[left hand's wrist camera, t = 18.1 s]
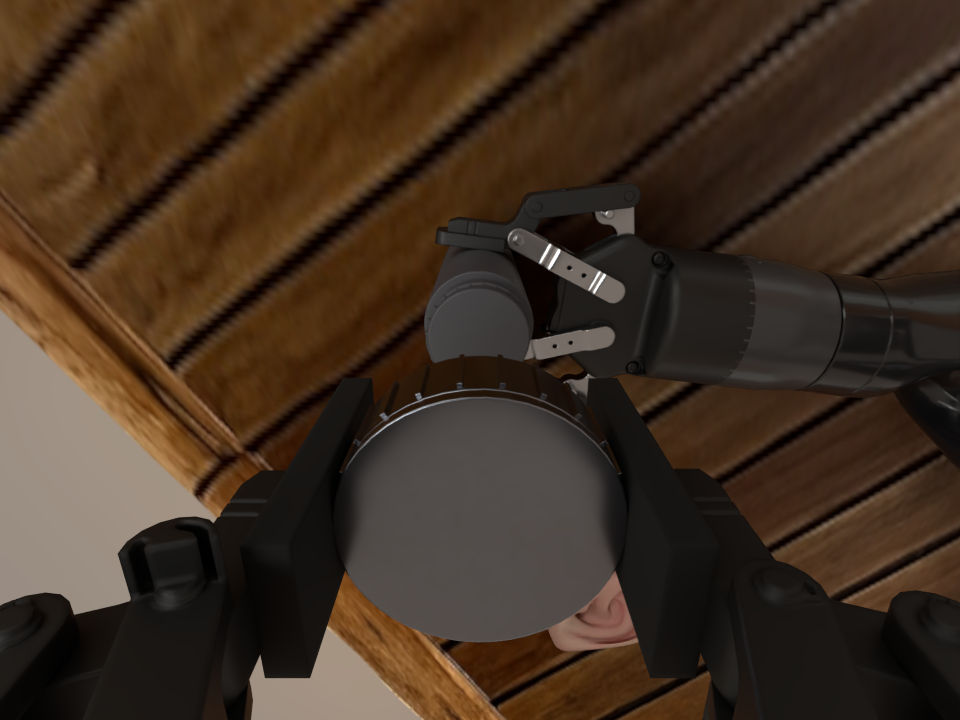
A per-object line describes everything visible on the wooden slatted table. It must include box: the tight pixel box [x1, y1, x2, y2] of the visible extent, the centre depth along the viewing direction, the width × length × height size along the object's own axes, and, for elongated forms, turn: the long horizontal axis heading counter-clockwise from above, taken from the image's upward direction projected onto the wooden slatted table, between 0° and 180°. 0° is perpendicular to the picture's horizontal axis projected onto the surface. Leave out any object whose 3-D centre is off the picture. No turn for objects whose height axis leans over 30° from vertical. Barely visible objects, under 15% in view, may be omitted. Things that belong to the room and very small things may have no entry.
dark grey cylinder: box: [424, 246, 534, 363], centre depth 29 cm, size 5×5×16 cm
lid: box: [332, 354, 628, 642], centre depth 11 cm, size 6×6×2 cm
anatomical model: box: [547, 571, 638, 651], centre depth 44 cm, size 13×4×12 cm
